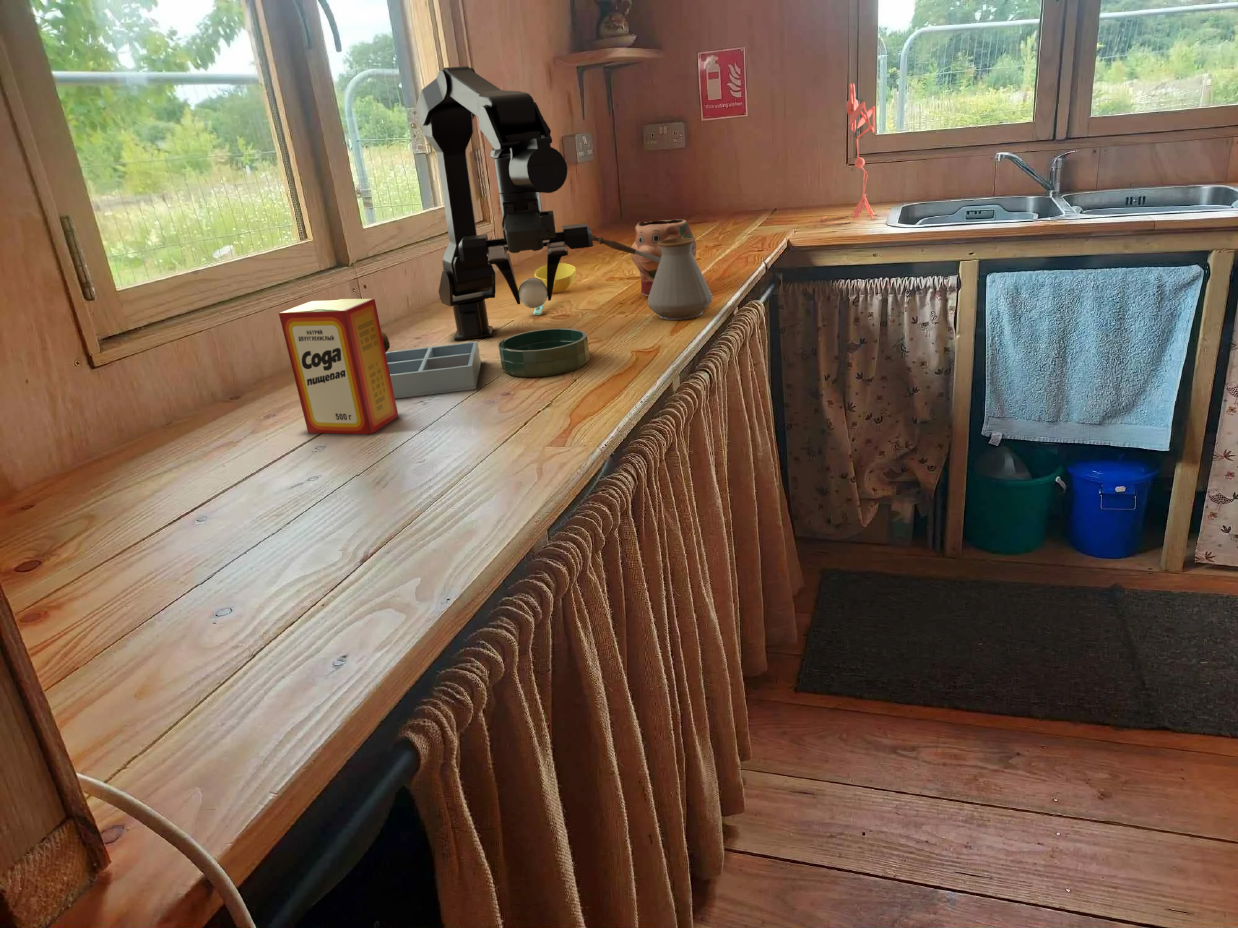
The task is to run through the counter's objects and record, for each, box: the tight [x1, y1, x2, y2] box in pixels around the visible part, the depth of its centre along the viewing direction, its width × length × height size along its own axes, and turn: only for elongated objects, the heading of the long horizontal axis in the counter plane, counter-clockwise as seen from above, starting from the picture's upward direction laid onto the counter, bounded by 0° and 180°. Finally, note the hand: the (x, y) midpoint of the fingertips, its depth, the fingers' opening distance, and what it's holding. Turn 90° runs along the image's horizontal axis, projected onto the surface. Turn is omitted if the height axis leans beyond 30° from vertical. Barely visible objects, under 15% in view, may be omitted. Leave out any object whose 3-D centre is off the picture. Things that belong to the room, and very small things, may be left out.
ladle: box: [533, 262, 577, 316], centre depth 177 cm, size 9×26×6 cm, turn 174°
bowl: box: [498, 327, 590, 378], centre depth 131 cm, size 13×13×4 cm
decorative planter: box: [630, 218, 697, 297], centre depth 171 cm, size 20×12×14 cm, turn 162°
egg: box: [518, 276, 548, 309], centre depth 127 cm, size 5×4×4 cm
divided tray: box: [386, 341, 482, 400], centre depth 129 cm, size 15×15×3 cm
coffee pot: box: [592, 234, 714, 321], centre depth 152 cm, size 21×12×15 cm, turn 81°
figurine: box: [821, 82, 876, 224], centre depth 238 cm, size 15×26×35 cm, turn 165°
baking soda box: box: [278, 298, 399, 435], centre depth 111 cm, size 10×6×16 cm
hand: (534, 302), depth 128 cm, fingers closed on egg, 4 cm apart
